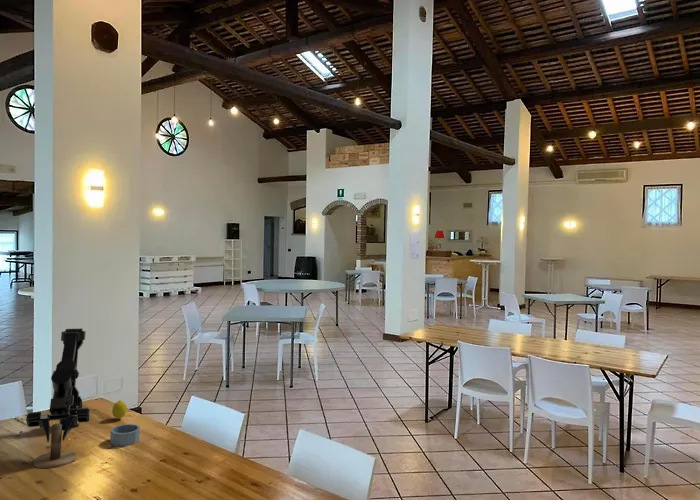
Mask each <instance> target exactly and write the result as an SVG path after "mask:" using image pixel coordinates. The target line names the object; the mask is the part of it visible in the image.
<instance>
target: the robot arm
mask: <svg viewBox="0 0 700 500" xmlns="http://www.w3.org/2000/svg"><path fill="white" fill-rule="evenodd" d="M86 332H87V331H86V330H83V328H66V329H65V330H64V331H61V335H60V336H61V337H60V342H62V344H63V349H62V354H61V355H62V356H61V359H60V361H59V362H58V363H57V364H56V367H55V370H53V372H52V375H51V377H50V380H51V383H52V388H53V394H52V398H51V399H50V404H49V409H48V410H49V411H48V412H49V413H50V414H48V413H45V414H44V413H42V411H32V412H28V413H27V414H26V416H25V417H26V418H25V421H26V425H27V427H28V428H33V427H39V429H42V430H43V431H44V433H45V438H46V442H47V443H49V442H50V440H51V436H50V435H51V434H50V432H51V424H50V421H59V423H58V424H62V431H63V433H62V442H64V441H65V440H66V438H67V436H68V435H69V433H70V431H71V430H72V428H76V427H79V426H80V424H79V423H89V422H90V417H91V416H90V415H91V414H90V413H91V411H90V410H91V409H90V408H89V407H83V399H82V398H81V396H80V391H79V390H78V388H77V387H76V382H77V380H78V378H79V376H80V372H79V370H78V358H79V350H80V349H81V347H82V346H83V344H84V341H85V340H86ZM78 422H79V423H78Z"/></svg>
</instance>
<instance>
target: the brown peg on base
mask: <svg viewBox="0 0 700 500" xmlns="http://www.w3.org/2000/svg"><path fill="white" fill-rule="evenodd" d="M50 432H51V434H50V435H51V436H50V452H46V453H44V454H41V455H39V456H37V457H36V458H35V459H33V462H32V463H33V466H34V467H35V468H38V469H54V468H59V467H63V466H66V465H70V464H71V463H73V462H74V461H75V460H76V459H77V453H76V452H74V451H72V450H62V438H63V433H62V432H63V430H62V424H59V423H55V424H52V425H51V431H50Z"/></svg>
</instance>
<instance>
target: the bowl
mask: <svg viewBox="0 0 700 500" xmlns="http://www.w3.org/2000/svg"><path fill="white" fill-rule="evenodd" d="M140 436H141V426H140V425H138V424H133V423H126V424H120V425H116V426H114V427H112V428H111V429H110V439H109V441H110V442H109V444H111V445H112V446H116V447H124V446H125V447H126V446H131V445H135V444H137V443H138V442H139V441H140V439H139V438H141V437H140ZM137 441H138V442H137ZM134 443H135V444H134Z"/></svg>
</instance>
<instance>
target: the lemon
mask: <svg viewBox="0 0 700 500" xmlns="http://www.w3.org/2000/svg"><path fill="white" fill-rule="evenodd" d="M127 409H128V407H127V404H126V403H125V401H123V400H118V401H117V402H115V403H114V404H113V407H112V410H111V411H112V413H111V414H112V416H113V417H114V418H115V419H118V420H121V418H123V417H125V415H126V413H127Z"/></svg>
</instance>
